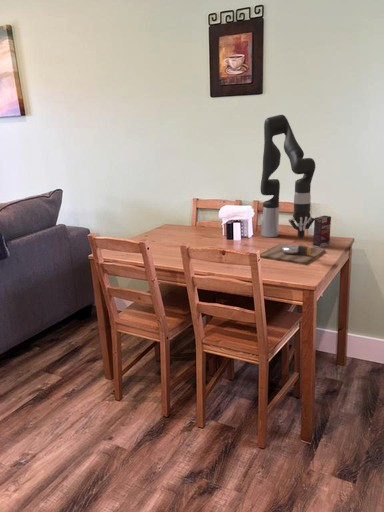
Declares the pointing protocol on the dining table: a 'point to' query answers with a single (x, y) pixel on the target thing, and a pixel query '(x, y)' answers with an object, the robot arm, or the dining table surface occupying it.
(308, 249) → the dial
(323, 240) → the supplement box
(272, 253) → the board
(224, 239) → the dining table surface
